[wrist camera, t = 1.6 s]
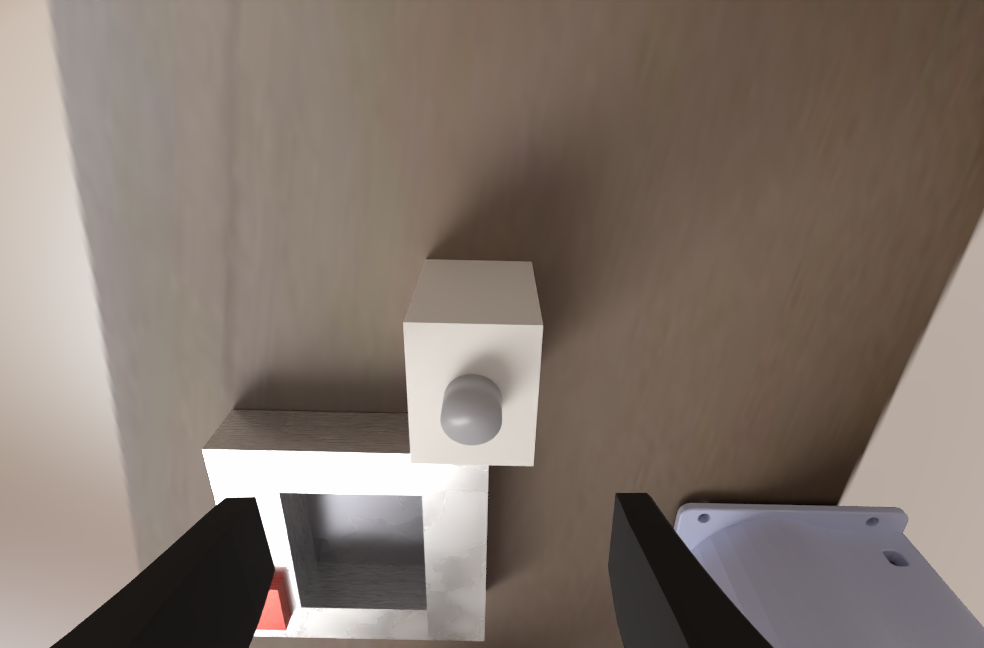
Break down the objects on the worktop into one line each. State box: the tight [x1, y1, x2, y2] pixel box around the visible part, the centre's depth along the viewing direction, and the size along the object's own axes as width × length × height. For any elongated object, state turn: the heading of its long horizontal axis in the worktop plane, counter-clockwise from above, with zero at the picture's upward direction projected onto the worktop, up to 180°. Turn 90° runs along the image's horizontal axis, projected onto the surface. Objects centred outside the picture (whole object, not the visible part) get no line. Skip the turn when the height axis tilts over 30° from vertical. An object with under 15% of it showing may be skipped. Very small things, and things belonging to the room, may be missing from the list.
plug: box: [403, 259, 543, 466], centre depth 17 cm, size 4×5×6 cm
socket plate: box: [202, 410, 489, 641], centre depth 22 cm, size 10×10×3 cm
